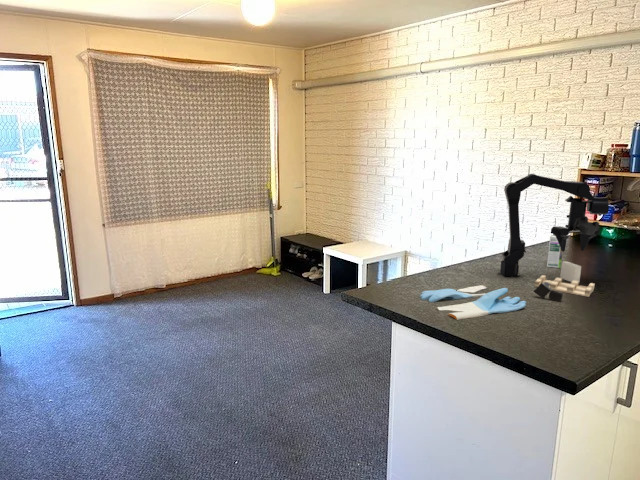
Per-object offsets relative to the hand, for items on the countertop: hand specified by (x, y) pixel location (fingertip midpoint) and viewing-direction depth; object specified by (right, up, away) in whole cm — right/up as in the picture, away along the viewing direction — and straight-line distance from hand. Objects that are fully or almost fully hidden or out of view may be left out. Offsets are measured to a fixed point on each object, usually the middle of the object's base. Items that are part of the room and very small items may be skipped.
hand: (572, 251), depth 190 cm
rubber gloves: (-50, -18, -24) cm, 58 cm away
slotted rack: (-8, -14, -8) cm, 18 cm away
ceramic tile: (0, -12, +2) cm, 12 cm away
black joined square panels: (-21, -17, -21) cm, 34 cm away
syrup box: (+4, -8, +24) cm, 26 cm away
